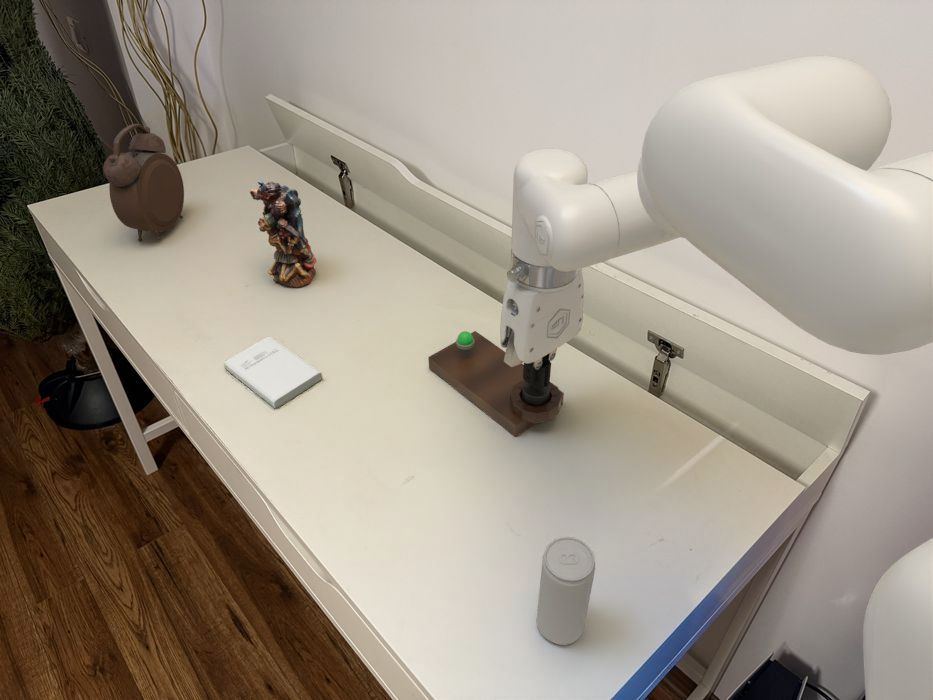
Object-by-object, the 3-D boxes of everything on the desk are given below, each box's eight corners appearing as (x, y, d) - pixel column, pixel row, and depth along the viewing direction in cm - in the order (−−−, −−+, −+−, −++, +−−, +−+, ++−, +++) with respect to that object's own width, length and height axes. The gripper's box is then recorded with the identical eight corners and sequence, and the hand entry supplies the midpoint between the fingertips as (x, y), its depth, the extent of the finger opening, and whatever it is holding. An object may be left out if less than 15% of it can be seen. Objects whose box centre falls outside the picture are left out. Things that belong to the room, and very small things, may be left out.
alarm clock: (162, 210, 138) (129, 111, 125) (196, 213, 137) (165, 113, 124) (120, 248, 127) (79, 144, 114) (156, 252, 126) (119, 147, 113)
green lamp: (478, 345, 99) (478, 333, 97) (464, 353, 97) (464, 341, 96) (466, 336, 100) (466, 324, 99) (452, 344, 99) (452, 332, 98)
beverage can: (586, 648, 69) (599, 582, 61) (537, 647, 69) (544, 581, 61) (581, 603, 72) (592, 535, 65) (534, 602, 73) (540, 535, 65)
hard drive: (275, 410, 95) (225, 369, 101) (323, 379, 99) (272, 342, 106) (273, 401, 94) (222, 361, 100) (321, 371, 98) (269, 334, 105)
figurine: (248, 291, 116) (222, 194, 105) (268, 262, 123) (246, 167, 111) (310, 297, 115) (290, 198, 103) (327, 266, 122) (310, 171, 110)
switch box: (575, 413, 93) (577, 391, 91) (527, 446, 89) (528, 425, 86) (475, 341, 105) (475, 321, 103) (428, 368, 101) (427, 347, 98)
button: (555, 397, 91) (556, 388, 90) (535, 411, 89) (536, 401, 88) (535, 383, 93) (536, 374, 92) (516, 396, 91) (516, 386, 90)
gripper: (519, 304, 71) (514, 427, 83) (614, 251, 79) (596, 371, 91) (471, 273, 76) (473, 394, 88) (565, 226, 83) (554, 343, 95)
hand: (536, 382), depth 89 cm, fingers closed
